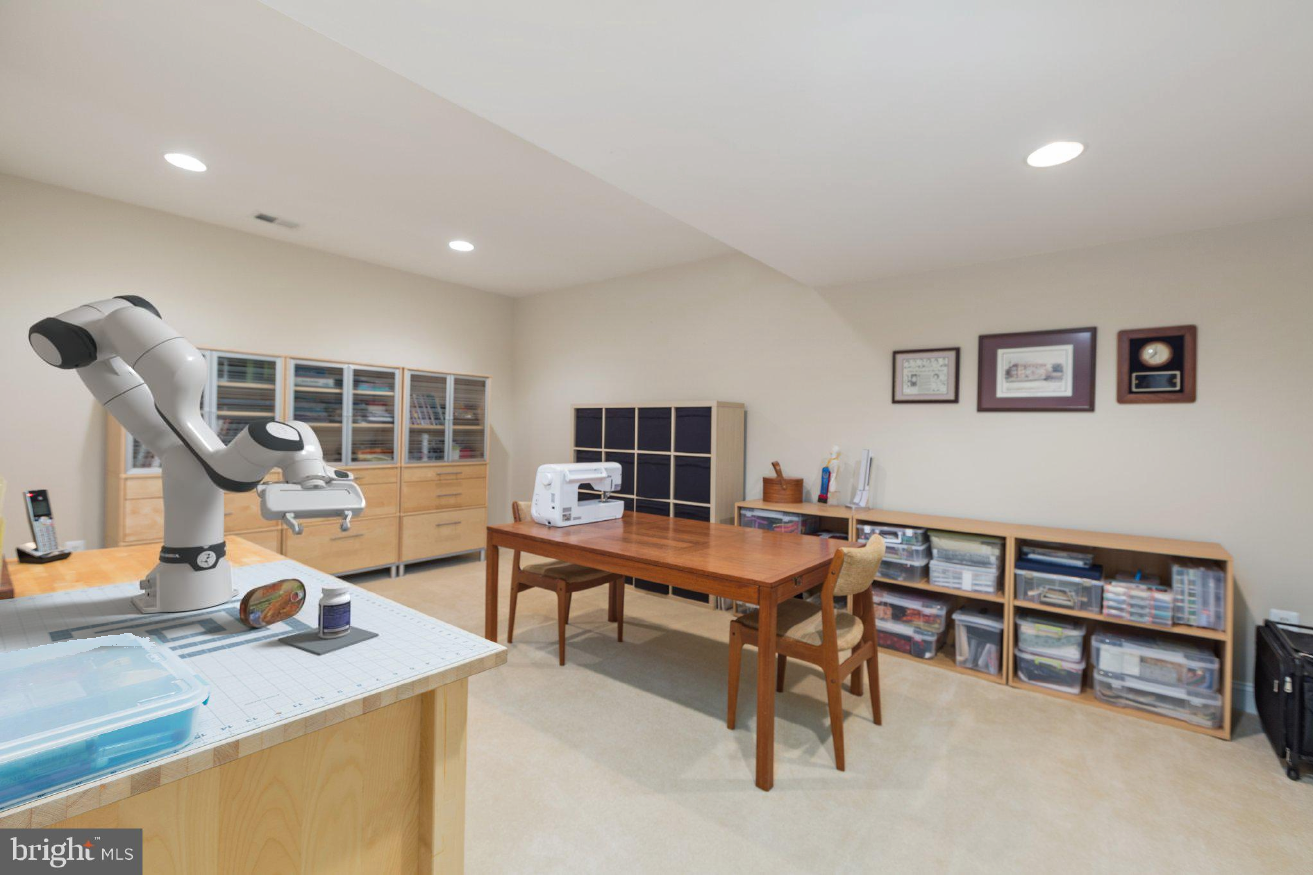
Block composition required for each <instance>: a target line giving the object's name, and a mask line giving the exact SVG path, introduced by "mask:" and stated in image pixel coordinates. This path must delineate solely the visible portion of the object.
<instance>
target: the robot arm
mask: <svg viewBox="0 0 1313 875" xmlns="http://www.w3.org/2000/svg"><path fill="white" fill-rule="evenodd" d="M27 338H28V342H29V344H30V346H31V348H32V350H33V351H34V352H35V354H37V356H38V357H39V358H40V359H42V361H44V362H45V363H46V364H48V365H49V366H52V367H55V368H58V369H61V370H67V371H68V370H75V371H76V373H77V375H78V376H79V378H80V380H81V381H82V383H83V384H84V385H85V387H86V388H87V389H88V391H89V392H90V394H91V395H92V396H93V397H94V398H95V399H96V400H97V401H98V403H100V404H101V406H102V407H103V408H104V409H105V410H106V411H107V412H108V413H109V414H110V415H111V416H112V417H113V418H114V419H115V421H117V422H118V423H119V424H120V425H121V427H123V428H124V430H125V431H127V432H128V434H129V435H130V436H132V437H133V438H134V439H136V440H137V441H138V442H139V443H140V444H141V445H143V446H144V447H145V448H146V449H147V450H149V452H151V454H153V455H154V456H155V457H156V458H157V459H158V460H160V462H161V486H162V500H163V501H162V502H163V510H164V511H163V512H164V513H163V545H161V546H160V547H161V548H160V551H159V553H158V554H159V556H158V561H159V562H158V564H156V565H155V566H154V567H153V568H152V570H151V571H149V573H147V574H146V576H145V579H141V580H139V590H140V591H144V592H143V593H140V594H136V595H134V596H131V602H132V603H133V605H135V607H136V608H137V609H138V610H139V611H140V612H141V613H142V614H153V613H168V612H169V613H172V612H185V611H193V610H200V609H206V608H211V607H214V606H218V605H222V604H223V603H226V602H229V601H230V600H231V599H232V598H233V597H235V596H237V595H239V594H240V592H239V589H236V588H234V582H233V566H232V562H230V561H229V560H227V559H226V558H225V556H226V555H227V544H226V543H227V542H226V540H225V539H224V538H225V537H224V536H225V495H224V494H225V492H224V491H226V492H228V493H236V494H237V493H238V494H239V493H248V492H251V491H254V490H255V491H256V495H257V497H258V498H259V499H260V502H259V505H260V506H259V507H260V508H259V509H260V516H261V518H262V519H264V521H269V522H270V521H282V523H283V524H284V525H285V526H286V527H287V528H289V529H290V530H291V533H292V535H293V536H296V535H297V536H299V535H303V533H304V527H303V523H298V522H297V521H296V520H312V519H314V520H315V519H332V518H341V520H342V521H341V523H340V524H339V526H338V528H339V529H340V530H339V531H340V532H341V533H343V532H345V533H346V532H349V531H350V529H351V523H350V520H351V518H353V517H354V518H355V517H361V515H362V513H364V510H365V509H366V506H367V502H366V500H365V497H364V494H363V493H362V490H361V488H360V487H359V485H358V484H356V483H355V482H354V479H355V477H354V474H353V473H352V472H349V471H345V470H341V469H339V468H334V467H331V466H329V465H327V462H325V460H324V459H323V457H324V454H323V449H322V446H321V443H320V441H319V439H318V436H317V435H316V433H315V432H314V430H313V429H312V427H311V426H310V425H308V424H307V423H305V422H303V421H300V420H287V421H277V420H273V419H264V418H263V419H255V420H252V421H251V422H249V423H248V425H246V426H245V427H244V428H243V429H242V430H241V431H240V432H239V433H237V435H236V436H235V437H234V438H233V439H232V440H231V442H229V443H228V444H227V445H225V444H224V442H222V441H221V439H220V438H219V437H218V435H217V434H216V433H215V432H214V431H213V430H212V428H211V427H210V426H209V425H208V424H207V423H206V422H205V420H204V418H203V416H202V414H201V408H200V407H201V405H200V404H201V399H202V398H201V397H202V395H203V391H204V388H205V386H206V382H207V379H208V373H209V369H208V368H209V367H208V362H207V360H206V358H205V357H204V355H203V354H202V353H201V351H200V349H198V348H197V347H196V346H195V345H194V344H193V343H192V342H190V341H189V340H188V339H187V338H186V337H185V336H184V335H182V334H181V333H180V332H179V331H177V329H175V328H174V327H173V326H171V325H170V324H169V323H167V322H166V321H164V319H163V317H162V315H161V314H160V312H159V310H158V309H157V308H156V307H155V306H154V305H153V304H152V302H150V301H148V300H147V299H145V298H144V297H141V296H139V295H135V294H124V295H116V296H113V297H111V298H106V299H102V300H97V301H92V302H89V303H85V304H82V305H80V306H78V307H75V308H73V309H69V310H66V311H64V312H61V313H59V314H57V315H54V316H53V317H51V316H50V317H45V318H43V319H41V320H39V321H37V322H36V323H34V324H32V325H31V326H30V327H29V328H28V337H27ZM275 468H278V469H280V470H281V472H282V478H283V480H282V481H280V480H279V481H269V480H267V481H264V480H263V479H265V477H266V476H267V475H268V474H269V473H270V472H271V471H272V470H274V469H275ZM262 481H263V482H262ZM261 482H262V483H261Z"/></svg>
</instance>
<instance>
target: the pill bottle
mask: <svg viewBox="0 0 1313 875" xmlns="http://www.w3.org/2000/svg"><path fill="white" fill-rule="evenodd" d="M348 591H349V584H348V583H345V582H338V583H336V582H335V583H330V584H325V585H323V586H322V587H321V594H322V595H323V596H321V597H320V598H319V599H318V615H317V617H318V618H317V619H318V620H317V627H318V636H319V637H320V638H324V639H333V638H339V637H342V636H345V635H347V634H348V633H349V632H350V626H351V617H352V616H351V613H352V612H351V611H352V610H351V607H352V606H351V605H352V602H351V601H352V599H351V595H349V594H347V592H348Z"/></svg>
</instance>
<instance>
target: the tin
mask: <svg viewBox="0 0 1313 875" xmlns="http://www.w3.org/2000/svg"><path fill="white" fill-rule="evenodd" d="M306 598H307V590H306V586H305V584H304V582H303V581H301V580H300V579H298V578H283V579H280V580H277V581H274V582H270V583H267V584H264V585H261V586H258V587H254V588H252V589H250V590H248V591H247V592H246V593H245V594H244V596H243V597H242V598H241V600H240V602H239V607H238V608H239V610H238V612H239V620H240V621H241V623H242V624H243V625H244V626H246V627H249V628H259V629H262V628H266V627H268V626H271V625H274V624H277V623H279V622H281V620H282V621H284V620H287V619H289V618H291V617H294V616H296V615H297V614H298V613H299V612H300V611H301V610H302V609H303V607H304V605H305V602H306Z"/></svg>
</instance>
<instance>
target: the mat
mask: <svg viewBox="0 0 1313 875" xmlns="http://www.w3.org/2000/svg"><path fill="white" fill-rule="evenodd" d="M376 637H379V633H376V632H373V631H369V630H367V629H364V628H359V627H356V626H352V625H350V632H349V633H348V634H347V635H345V636H342V637H339V638H333V639H324V638H320V637H319V636H318V626H317V627H314V628H311V629H307V630H303V631H300V632H296V633H293V634H289V635H286V636H283V637H280V638H277V641H278V642H280V643H282V644H283V643H284V644H287V645H289V646H292V647H296V648H299V649H301V650H304V651H307V652H309V653H313V654H316V655H319V656H323V655H325V654H328V653H332V652H334V651H335V652H336V651H337V649H338V650H340V649H343V648H346V647H347V648H348V647H349V645H350V646H353V645H356V644H359V643H361V642H364V641H367V640H370V639H374V638H376Z"/></svg>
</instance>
